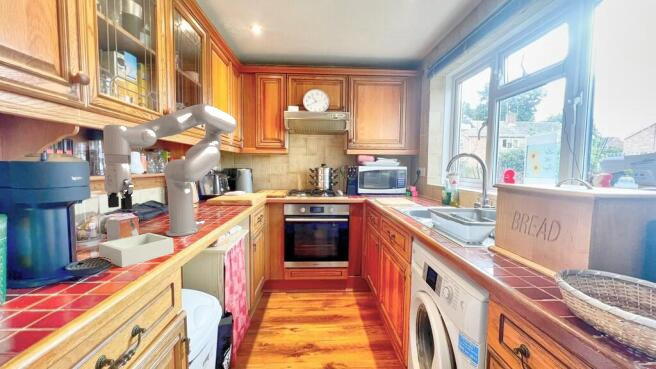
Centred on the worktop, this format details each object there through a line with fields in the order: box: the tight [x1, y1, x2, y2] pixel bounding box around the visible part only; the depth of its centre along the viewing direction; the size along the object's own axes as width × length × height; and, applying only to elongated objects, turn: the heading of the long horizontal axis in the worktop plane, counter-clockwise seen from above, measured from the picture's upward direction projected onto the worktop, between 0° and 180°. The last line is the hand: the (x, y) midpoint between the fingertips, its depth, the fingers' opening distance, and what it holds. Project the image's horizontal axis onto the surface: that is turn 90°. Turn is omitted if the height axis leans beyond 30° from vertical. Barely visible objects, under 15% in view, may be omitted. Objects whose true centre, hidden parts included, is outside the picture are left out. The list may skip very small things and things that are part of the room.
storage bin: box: [97, 232, 175, 268], centre depth 90 cm, size 15×15×5 cm
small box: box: [105, 215, 140, 242], centre depth 100 cm, size 8×6×10 cm
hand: (120, 208), depth 99 cm, fingers open, 9 cm apart
